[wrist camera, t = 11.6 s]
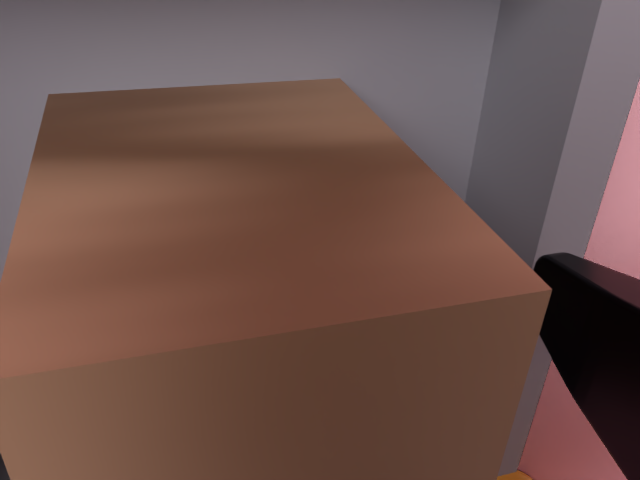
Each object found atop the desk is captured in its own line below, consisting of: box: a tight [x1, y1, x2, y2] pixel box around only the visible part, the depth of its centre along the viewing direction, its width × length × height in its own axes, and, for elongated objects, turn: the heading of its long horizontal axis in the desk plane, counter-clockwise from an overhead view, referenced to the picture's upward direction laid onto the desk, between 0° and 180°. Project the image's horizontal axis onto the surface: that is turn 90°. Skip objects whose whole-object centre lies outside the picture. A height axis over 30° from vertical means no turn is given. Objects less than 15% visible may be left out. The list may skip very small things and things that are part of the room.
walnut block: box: [0, 78, 552, 480], centre depth 8 cm, size 4×4×6 cm
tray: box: [0, 0, 640, 480], centre depth 10 cm, size 12×12×3 cm
